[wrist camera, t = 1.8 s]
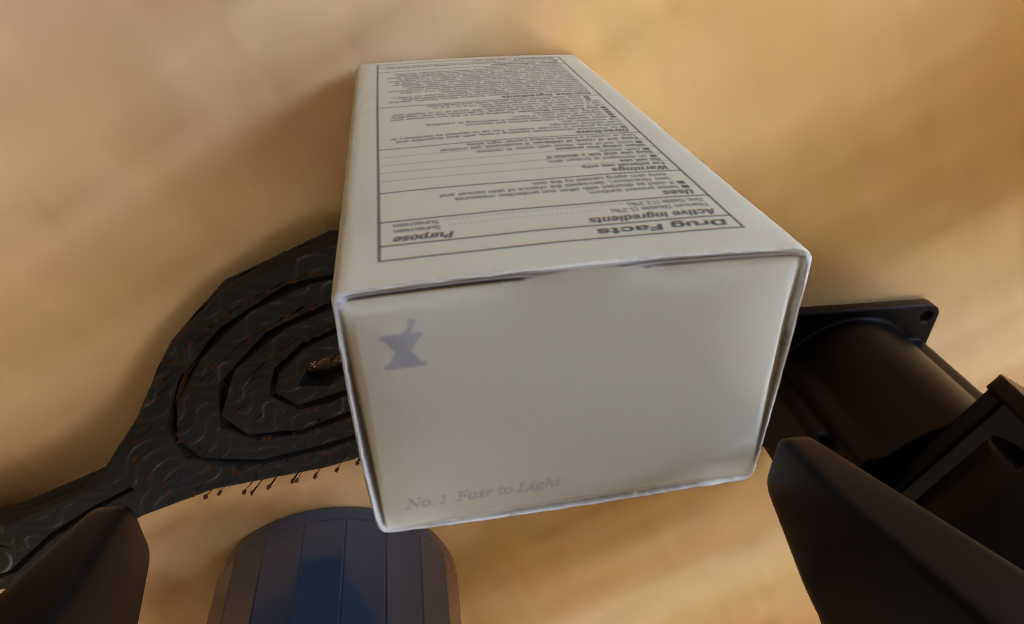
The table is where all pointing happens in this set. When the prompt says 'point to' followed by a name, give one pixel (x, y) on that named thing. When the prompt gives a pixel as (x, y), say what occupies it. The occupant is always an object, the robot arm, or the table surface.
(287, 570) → the crock
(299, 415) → the hairbrush
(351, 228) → the cosmetic box
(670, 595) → the table surface
